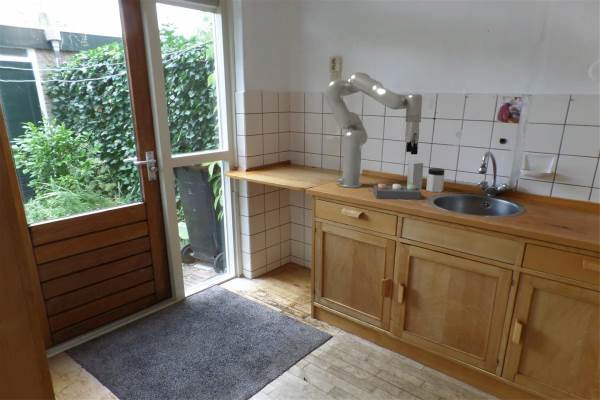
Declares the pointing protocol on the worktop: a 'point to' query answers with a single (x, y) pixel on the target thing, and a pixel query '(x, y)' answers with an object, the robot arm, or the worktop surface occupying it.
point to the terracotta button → (382, 186)
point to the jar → (435, 180)
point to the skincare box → (415, 173)
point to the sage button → (411, 187)
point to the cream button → (396, 187)
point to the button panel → (396, 193)
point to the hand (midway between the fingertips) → (411, 153)
